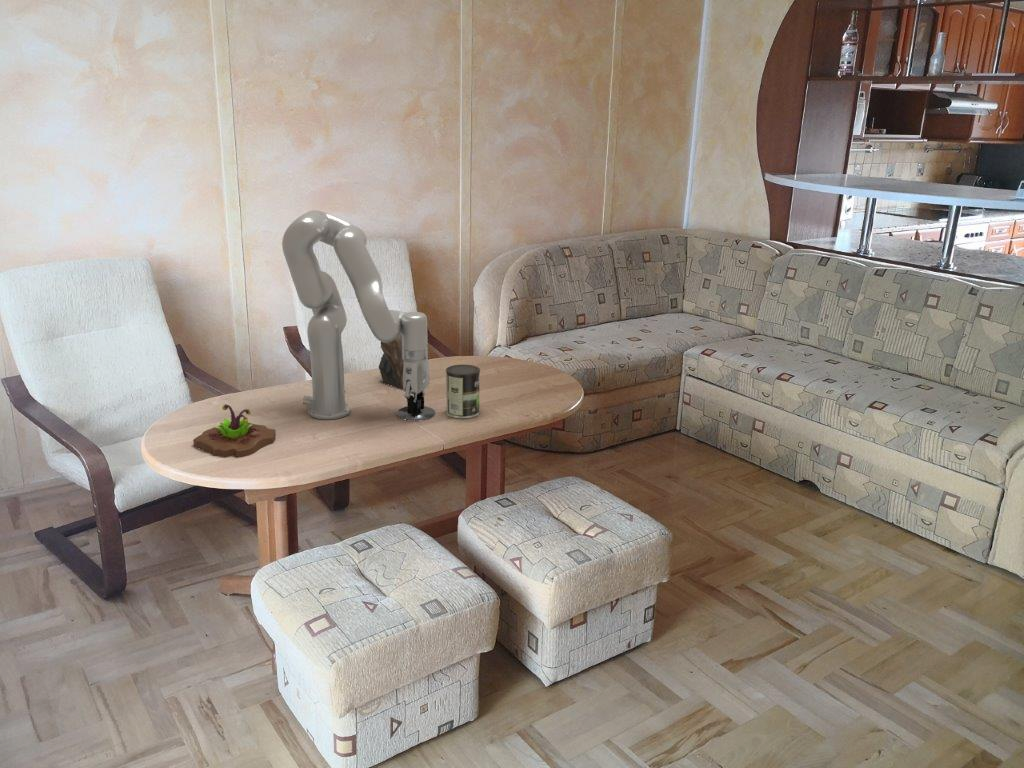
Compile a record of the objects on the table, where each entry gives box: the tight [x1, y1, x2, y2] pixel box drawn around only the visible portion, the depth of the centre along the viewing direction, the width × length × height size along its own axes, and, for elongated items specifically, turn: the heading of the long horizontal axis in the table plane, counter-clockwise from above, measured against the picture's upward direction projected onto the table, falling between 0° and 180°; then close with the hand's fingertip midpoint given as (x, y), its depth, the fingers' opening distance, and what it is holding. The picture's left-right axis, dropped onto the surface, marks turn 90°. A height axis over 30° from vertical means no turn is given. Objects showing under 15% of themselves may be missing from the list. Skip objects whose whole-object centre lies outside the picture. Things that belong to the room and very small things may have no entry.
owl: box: [378, 334, 404, 390], centre depth 284 cm, size 13×13×20 cm
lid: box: [396, 398, 436, 422], centre depth 258 cm, size 12×12×5 cm
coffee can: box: [445, 364, 481, 419], centre depth 258 cm, size 10×10×14 cm
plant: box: [192, 404, 277, 458], centre depth 234 cm, size 20×20×11 cm
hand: (415, 410), depth 258 cm, fingers open, 4 cm apart
